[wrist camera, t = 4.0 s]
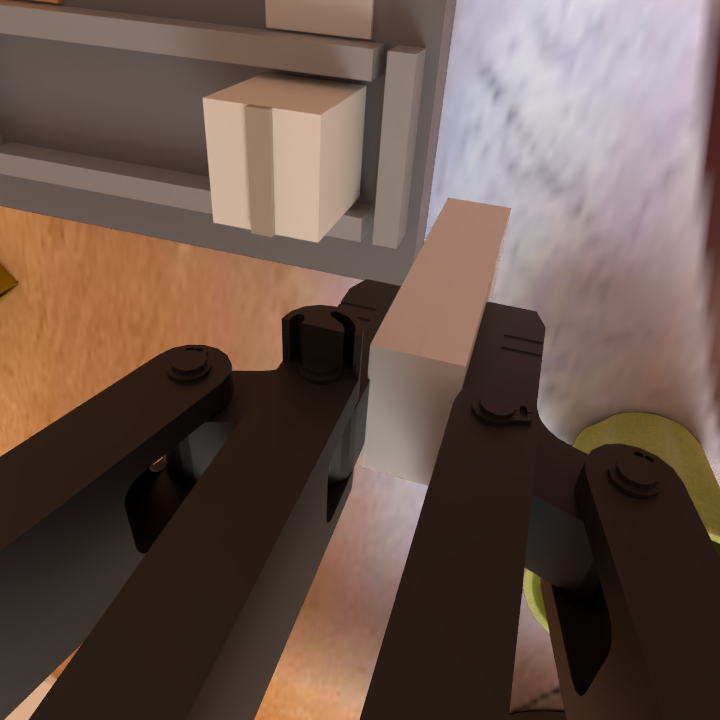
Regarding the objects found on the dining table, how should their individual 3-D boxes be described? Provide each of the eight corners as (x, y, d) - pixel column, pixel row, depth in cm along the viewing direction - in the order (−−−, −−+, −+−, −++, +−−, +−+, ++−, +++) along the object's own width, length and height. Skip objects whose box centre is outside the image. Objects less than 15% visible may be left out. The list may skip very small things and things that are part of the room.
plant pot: (527, 504, 34) (512, 644, 27) (547, 368, 29) (535, 499, 22) (710, 538, 31) (744, 702, 25) (769, 396, 26) (833, 554, 19)
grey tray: (461, -38, 21) (442, -36, 18) (420, 269, 28) (402, 305, 25) (-49, -81, 25) (-126, -84, 23) (26, 192, 32) (-26, 215, 30)
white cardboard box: (366, 85, 22) (318, 116, 18) (359, 196, 24) (315, 245, 20) (266, 72, 23) (198, 99, 19) (269, 180, 25) (209, 224, 21)
